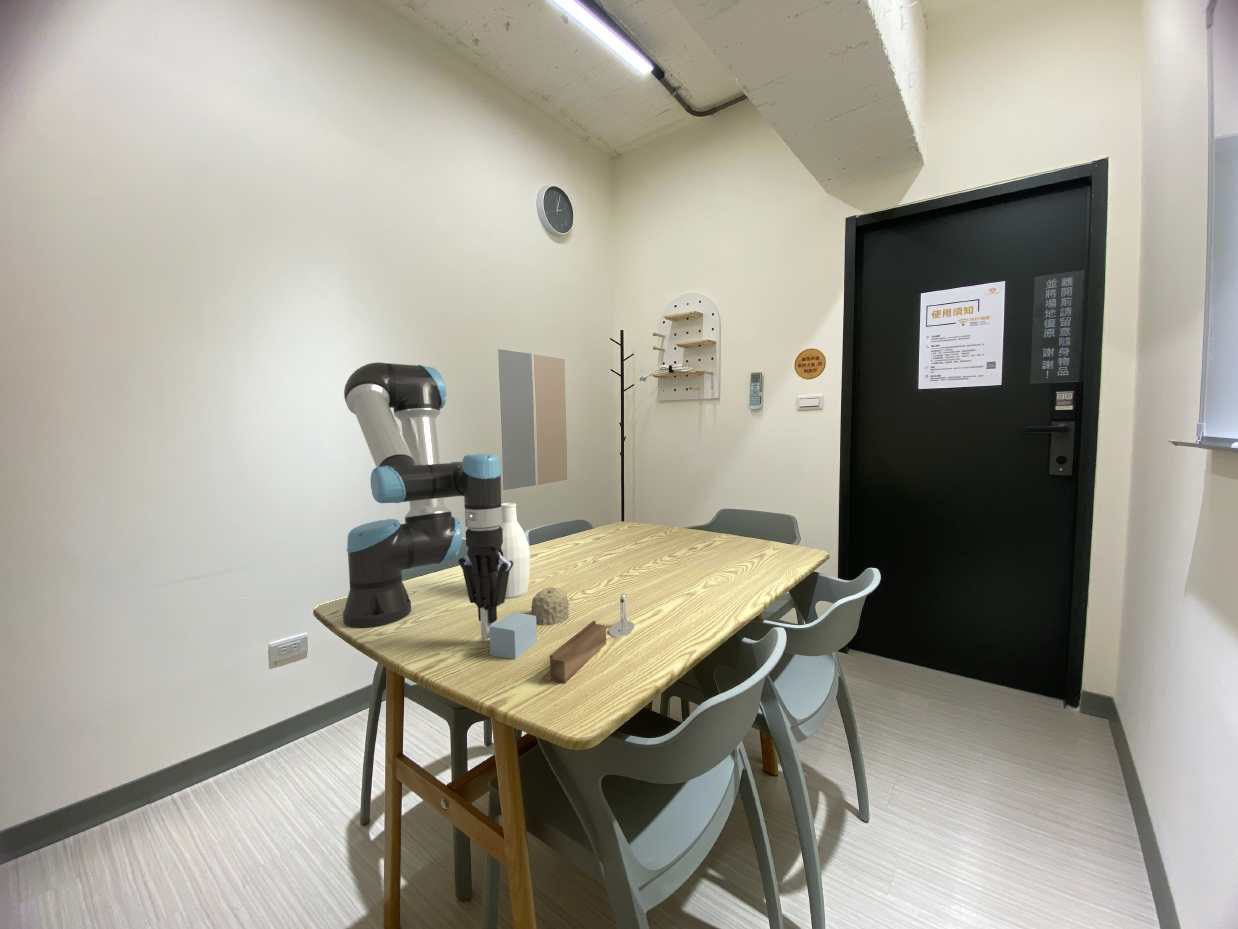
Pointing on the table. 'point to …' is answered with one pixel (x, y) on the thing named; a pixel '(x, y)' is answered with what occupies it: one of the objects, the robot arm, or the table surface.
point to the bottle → (515, 552)
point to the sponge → (550, 606)
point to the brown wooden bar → (577, 652)
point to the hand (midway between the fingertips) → (488, 636)
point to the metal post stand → (622, 621)
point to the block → (513, 635)
